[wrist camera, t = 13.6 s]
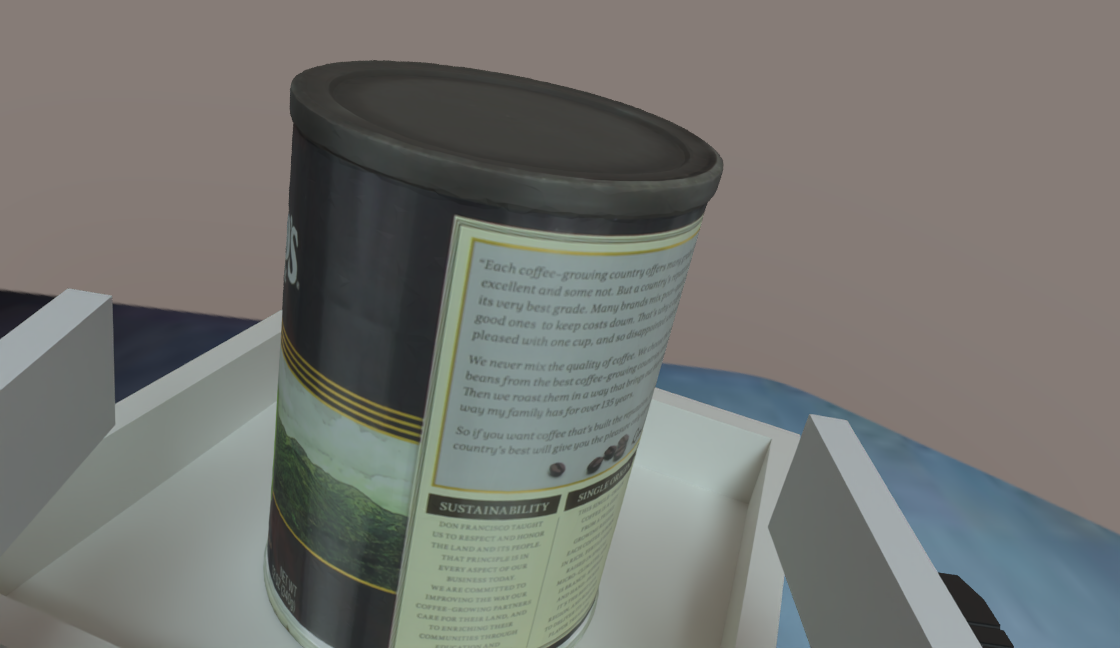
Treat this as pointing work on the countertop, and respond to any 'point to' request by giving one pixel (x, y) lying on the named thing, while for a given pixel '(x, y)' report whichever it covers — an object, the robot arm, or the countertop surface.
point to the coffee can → (467, 349)
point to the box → (244, 505)
